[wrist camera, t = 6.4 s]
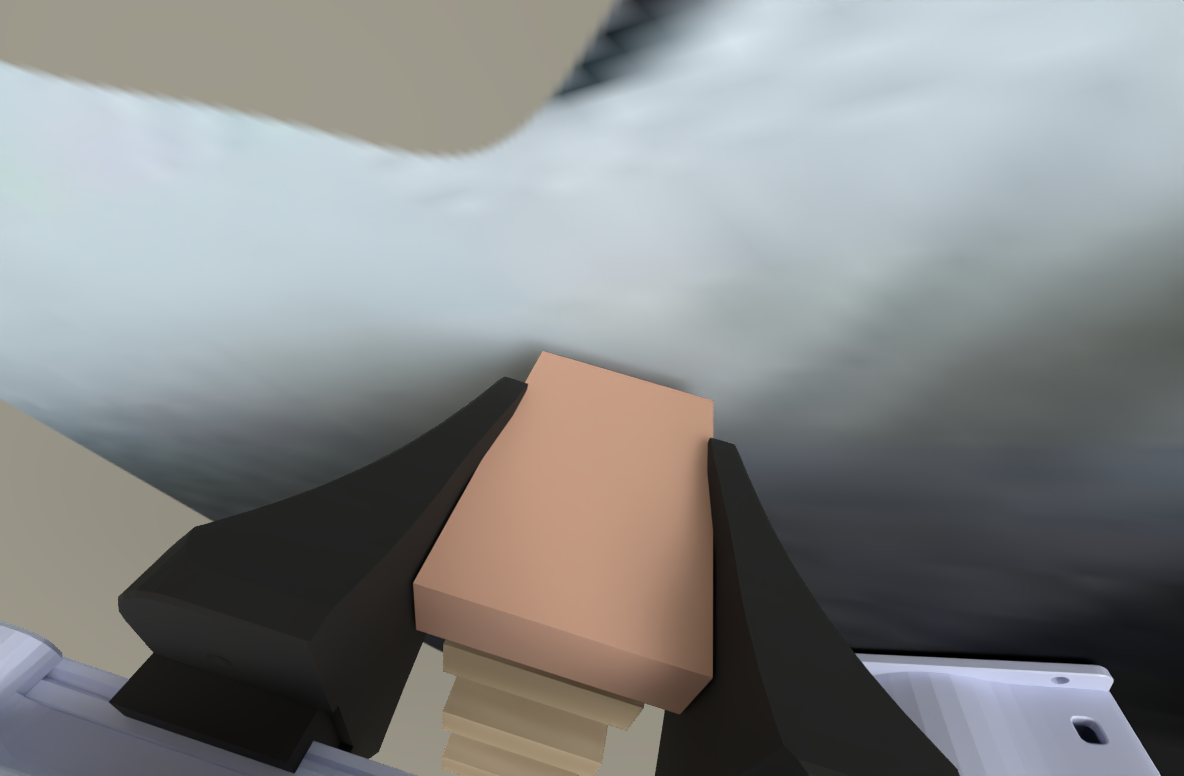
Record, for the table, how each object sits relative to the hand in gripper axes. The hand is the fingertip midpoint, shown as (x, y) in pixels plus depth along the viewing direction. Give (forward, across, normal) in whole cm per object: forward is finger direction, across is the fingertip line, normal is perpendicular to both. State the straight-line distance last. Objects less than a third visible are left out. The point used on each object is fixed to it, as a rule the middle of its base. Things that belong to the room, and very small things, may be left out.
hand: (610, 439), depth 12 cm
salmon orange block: (+2, 0, 0) cm, 2 cm away
